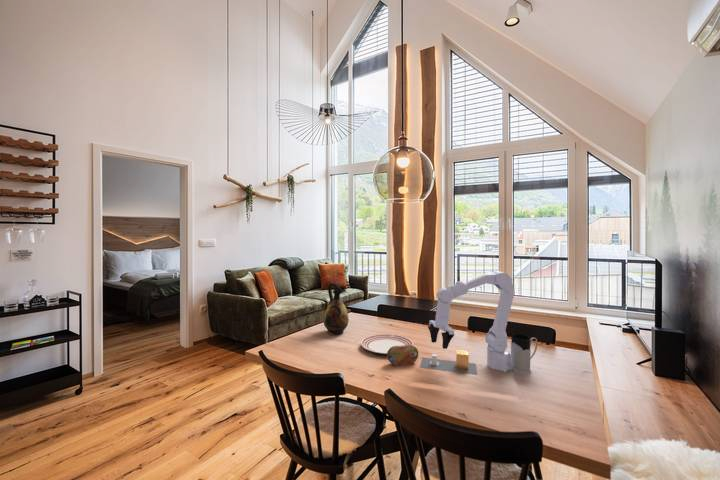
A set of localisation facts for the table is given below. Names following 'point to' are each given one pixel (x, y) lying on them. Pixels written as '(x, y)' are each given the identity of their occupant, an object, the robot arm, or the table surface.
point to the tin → (402, 354)
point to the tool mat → (446, 365)
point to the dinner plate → (384, 342)
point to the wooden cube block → (462, 359)
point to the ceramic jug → (335, 312)
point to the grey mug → (521, 353)
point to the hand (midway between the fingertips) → (439, 345)
